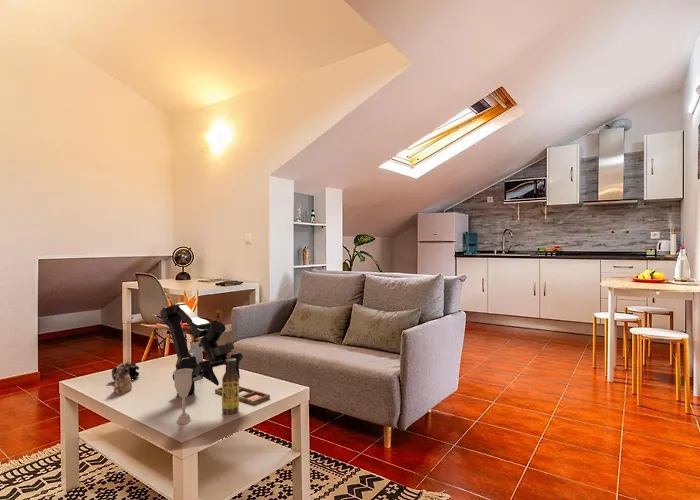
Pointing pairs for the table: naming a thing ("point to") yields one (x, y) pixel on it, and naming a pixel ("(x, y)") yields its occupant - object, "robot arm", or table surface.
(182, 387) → the chalice
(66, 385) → the table surface
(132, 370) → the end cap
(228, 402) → the sauce bottle
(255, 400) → the brown compartment tray
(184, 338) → the robot arm
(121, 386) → the figurine
